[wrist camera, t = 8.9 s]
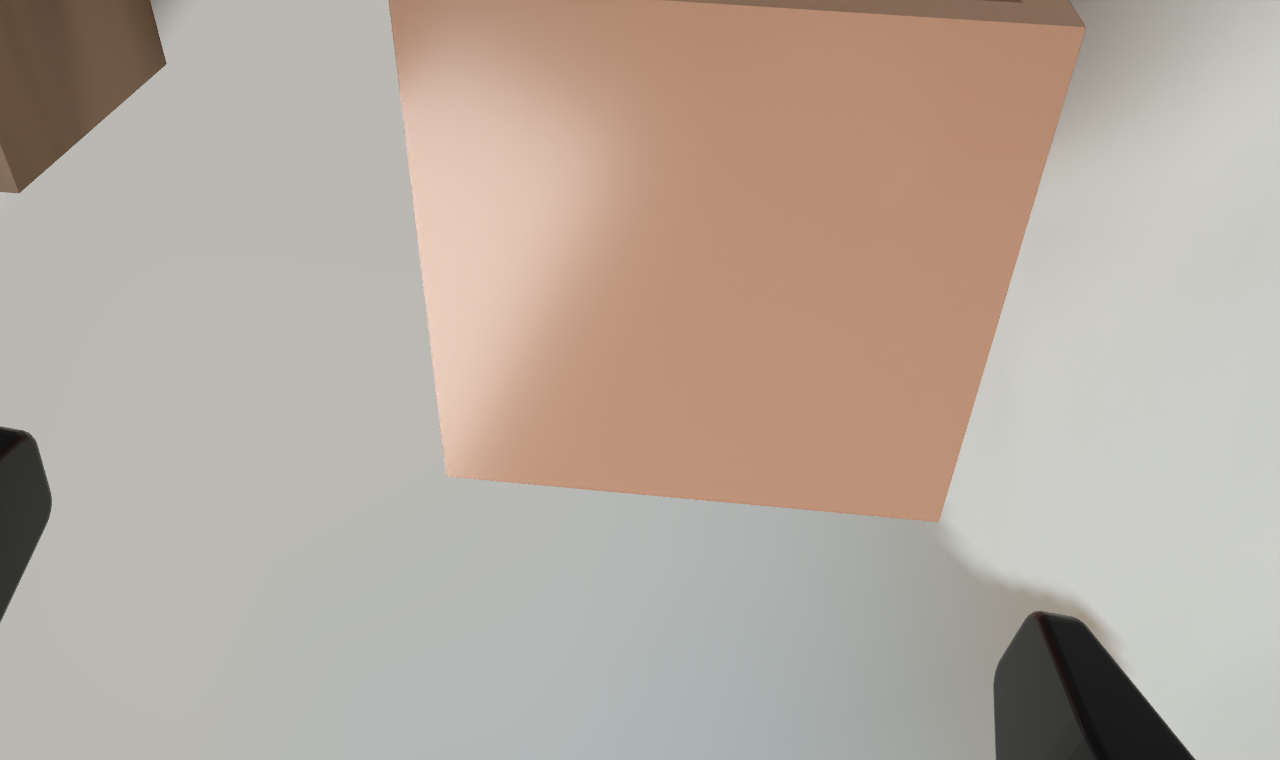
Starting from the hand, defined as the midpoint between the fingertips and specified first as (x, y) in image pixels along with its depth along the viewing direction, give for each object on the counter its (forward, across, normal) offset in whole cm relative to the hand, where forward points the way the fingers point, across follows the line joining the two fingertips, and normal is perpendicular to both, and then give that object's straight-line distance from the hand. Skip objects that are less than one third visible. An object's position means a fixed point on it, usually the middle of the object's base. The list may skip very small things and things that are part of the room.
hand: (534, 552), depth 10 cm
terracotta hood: (+12, -1, 0) cm, 12 cm away
